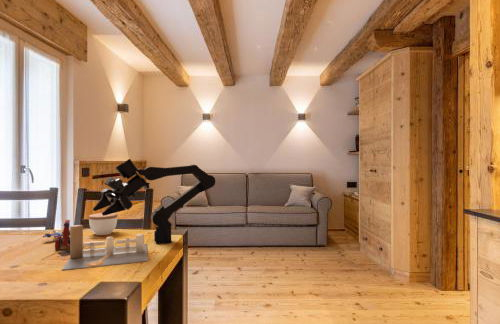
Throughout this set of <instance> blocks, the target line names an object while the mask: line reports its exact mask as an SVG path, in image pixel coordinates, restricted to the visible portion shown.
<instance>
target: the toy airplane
mask: <svg viewBox="0 0 500 324" xmlns="http://www.w3.org/2000/svg"><path fill="white" fill-rule="evenodd" d="M63 231H64V229H62V232H63ZM52 232H53V233H45V234H44V235H42V236H41V237H42V238H46V237H47V238H52V237H53V238H55V239H57V237H58V236H62V232H60V231H58V230H56V229H55V230H54V231H53V230H52Z"/></svg>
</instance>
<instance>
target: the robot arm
mask: <svg viewBox="0 0 500 324" xmlns="http://www.w3.org/2000/svg"><path fill="white" fill-rule="evenodd" d="M115 170H116V171H117V172H118V173H119V175H120V176H121V177H122V178H123V179H127V181H126V182H124V181H123V180H122V179H121V178H117V179H116V178H114V177H110V176H109V177H107V179H106V180H105V181H104V183H103V184H104V185H105V186H107V187H109V188H104V189H102V190H101V193H100V195H101V197H100V199H99V200H98V202H97V203H96V204H95V205H94V207H92V211H94V212H96V211H99V210H101V209H104V208H105V209H104V210H103V211H104V212H103V213H102V212H101V213H102V215H103V216H105V215H108V214H112V213H119V212H123V211H126V210H127V211H128V210H130V209H131V208H132V207H133V202H132V201H131V199H130V198H131V197H135V196H136V193H137V192H139V191H141V189H144V190H149V189H150V182H151V181H156V180H159V179H162V178H165V177H170V176H171V177H172V176H181V175H189V174H190V175H192V176H194V178H196V179H197V180H196V182H195V183H194V185H193V186H191V187H190V188H188V189H187V190H186V191H185V192H184V193H182V194H180V195H178V197H177V198H175V199H173V201H171V202H170V203H168V204H166V205H163V204H160V205H159V206H158V207H156V208H154V209H153V212H151V215H150V220H151V221H152V223H153V224H154V226H156V227H155V230H154V232H153V233H154V234H153V236H154V237H153V239H154V242H155V244H157V245H160V244H161V245H162V244H170V243H173V241H172V225H173V223H172V222H170V220H169V219H171V217H172V215H173V214H174V213H175V212H177V211H178V210H179V209H180V208H182V207H183V206H185V204H187V203H188V202H190V201H191V200H192V199H193V198H194V197H196V196H197V195H199V194H200V193H203V192H205V191H208V190H210V189H212V188H213V187H214V186H215V185H216V178H215V177H214V176H213V175H211V174H208V173H206V172H205V171H204V170H203V169H201V168H200V167H199V166H198V165H197V164H190V165H181V166H180V165H179V166H172V167H160V166H159V167H158V166H147V167H145V168H143V169H142V168H137V166H136V165H135V163H133V161H132V159H131V158H128V159H127V160H125V161H124V162H122V163H120V164H118V165H117V166H115ZM141 176H142V177H141ZM145 179H146V180H148V181H150V182H147V181H146V180H145Z"/></svg>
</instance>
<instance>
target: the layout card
mask: <svg viewBox="0 0 500 324" xmlns="http://www.w3.org/2000/svg"><path fill="white" fill-rule="evenodd" d="M134 245H135V244H129V246H134ZM123 246H124V245H116V246H114V254H113V255H107V246H105V247H103V248H105V252H100V253H94V255H91V256H90V253H89V254H83V257H80V258H70V257H69V259H68V260H67V262H66V263H65V264H64V265H63V267H62V269H61V271H68V270H79V269H80V270H81V269H89V268H90V269H91V268H97V267H107V266H117V265H127V264H134V263H135V264H136V263H137V264H139V263H143V262H144V263H146V262H148V261H149V257H148V245H147V243H144V252H136V249H132V250H129V252H126V250H122V251H115V247H123ZM100 248H101V247H94V249H100ZM89 249H90V248H83V250H89Z"/></svg>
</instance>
